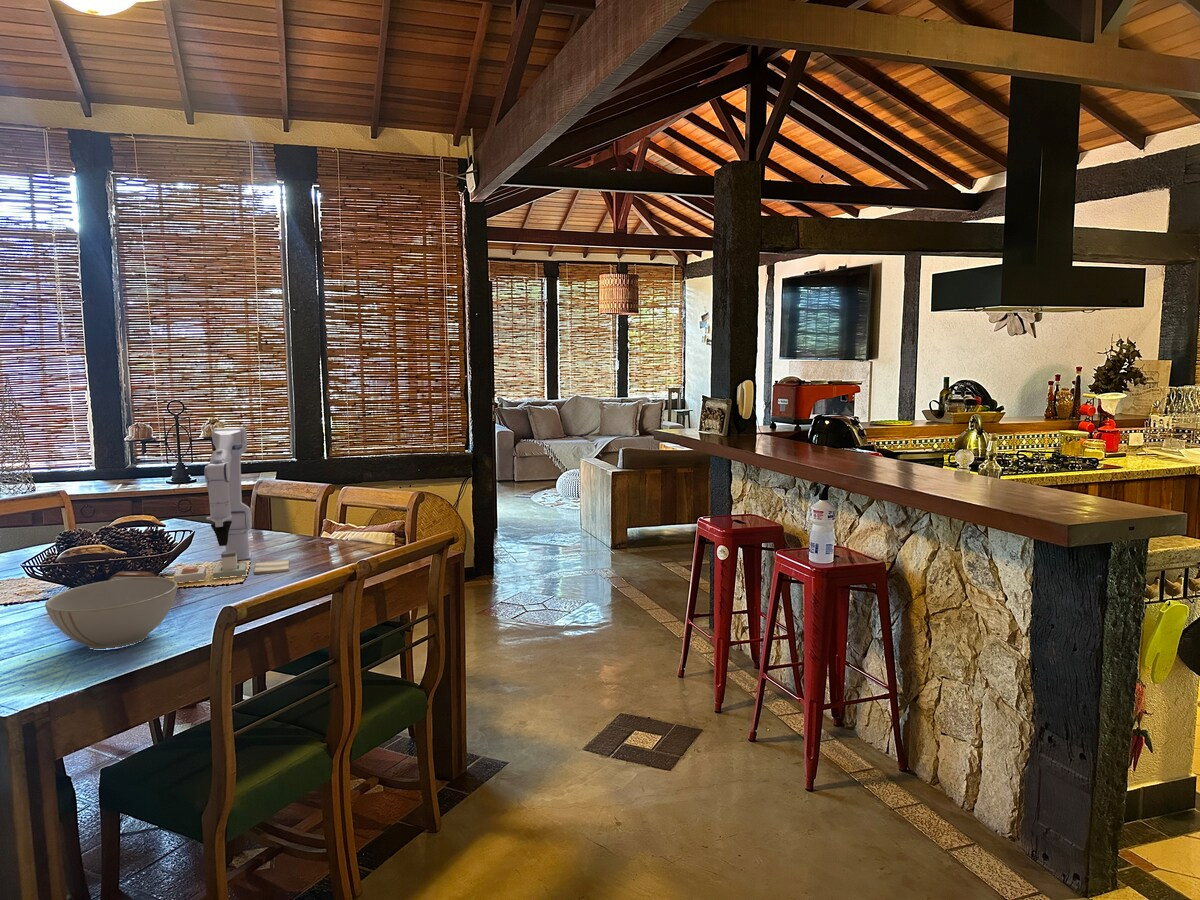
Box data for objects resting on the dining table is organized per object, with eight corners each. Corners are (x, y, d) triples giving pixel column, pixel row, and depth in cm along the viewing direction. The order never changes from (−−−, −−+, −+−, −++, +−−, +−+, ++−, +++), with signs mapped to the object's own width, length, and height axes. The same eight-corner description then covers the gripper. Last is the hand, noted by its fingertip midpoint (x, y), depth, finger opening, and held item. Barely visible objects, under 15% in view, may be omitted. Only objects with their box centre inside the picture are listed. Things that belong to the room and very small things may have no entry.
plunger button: (184, 576, 243) (183, 567, 243) (198, 575, 245) (197, 565, 244) (182, 580, 240) (181, 570, 239) (197, 578, 241) (196, 569, 241)
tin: (164, 600, 222) (161, 570, 221) (156, 603, 219) (154, 573, 218) (114, 599, 224) (111, 570, 223) (106, 603, 221) (103, 573, 220)
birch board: (255, 565, 257) (255, 562, 257) (288, 561, 261) (288, 559, 261) (254, 574, 246) (254, 572, 246) (288, 570, 250) (288, 568, 249)
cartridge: (223, 573, 248) (222, 551, 247) (237, 571, 250) (236, 550, 249) (222, 576, 245) (221, 554, 244) (237, 575, 246) (235, 553, 245)
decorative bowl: (30, 669, 173) (24, 616, 172) (75, 629, 199) (70, 582, 198) (165, 655, 180) (161, 603, 179) (192, 617, 206) (188, 572, 205)
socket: (215, 572, 250) (215, 566, 250) (246, 568, 253) (246, 562, 253) (213, 579, 241) (212, 573, 241) (245, 576, 245) (244, 569, 244)
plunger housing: (177, 577, 245) (177, 569, 244) (206, 574, 247) (205, 566, 247) (174, 584, 237) (173, 576, 237) (203, 581, 240) (203, 573, 240)
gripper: (207, 499, 249) (211, 541, 251) (202, 507, 236) (206, 552, 237) (232, 497, 252) (235, 539, 253) (228, 505, 238) (232, 549, 240)
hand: (223, 545), depth 245 cm, fingers closed
